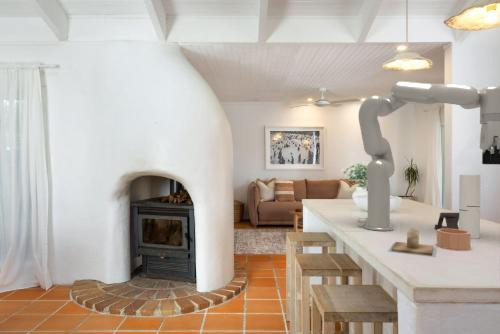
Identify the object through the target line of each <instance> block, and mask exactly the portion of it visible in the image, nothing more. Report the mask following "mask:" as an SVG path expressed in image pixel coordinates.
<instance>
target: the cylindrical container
mask: <svg viewBox="0 0 500 334" xmlns="http://www.w3.org/2000/svg"><path fill="white" fill-rule="evenodd" d="M458 184H459V188H458V189H459V191H458V192H459V194H458V195H459V197H458V199H459V201H458V202H459V203H458V206H459V208H458V211H459V212H458V213H459V221H458V228H459V230H465V231H468V232H470V239H480V238H481V235H480V234H481V175H480V174H459V183H458Z"/></svg>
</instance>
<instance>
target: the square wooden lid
mask: <svg viewBox="0 0 500 334" xmlns="http://www.w3.org/2000/svg"><path fill="white" fill-rule="evenodd" d="M419 231H420V230H419V229H418V228H407V229H406V242H404V241H403V242H402V241H395V242H394V243H395V244H394V246H393V247H392V249H391V251H394V252H393V253H395V252H403V253H402V254H404V253H411V254H410V255H412V254H420V255H419V256H421V255H429V256H432V253H433V247H434V245H431V244H430V245H429V244H421V243H419V242H420V238H419V237H420V232H419ZM429 256H428V257H429Z"/></svg>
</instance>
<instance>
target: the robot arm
mask: <svg viewBox="0 0 500 334" xmlns="http://www.w3.org/2000/svg"><path fill="white" fill-rule="evenodd" d="M408 103H416V104H422V105H423V104H424V105H432V104H433V105H434V104H448V105H457V106H460V107H461V108H463V109H464V110H474V109H478V108H479V124H480V125H481V127H480V137H479V149H480V150H482V152H481V157H482V158H481V163H482V165H500V86H497V85H496V86H488V87H484V88H481V90H477V89H476V88H475V87H473V86H470V85H464V84H463V85H462V84H451V83H428V82H416V81H410V80H409V81H408V80H399V81H396V82H394V83H393V84H392V86H391V88H390V93H388V94H386V95H385V96H384V97H383V96H381V95H378V94H377V95H371V96H369V97H367V98H366V99H365V100H364V101H363V102H362V103H361V105H360V107H359V110H358V123H359V127H360V128H359V129H360V132H361V138H362V139H361V140H362V143H363V149H364V152H365V153H366V154H367V155H368V156H369V157H370V158H371V160H370V161H369V163H368V164H367V166H366V170H365V171H366V173H365V174H366V181H367V183H366V185H367V217H365V218H361V217H359V218H358V219H357V223H361V224H364V225H363V228H364V229H365V230H369V231H377V232H380V231H381V232H386V231H387V232H388V231H393V230H394V226H392V224H390V221H391V218H390V217H391V184H390V183H391V182H390V178H391V177H392V176H393V175H394V173H395V169H396V167H395V162H394V156H393V153H392V148H391V144H390V143H389V141H388V139H386V138H385V137H383V135H382V130H381V125H380V122H379V119H378V117H386V116H389V115H391V114H393V113H394V112H395V111H397V110H399V109H401V108H403V107H404V106H405V105H407V104H408Z"/></svg>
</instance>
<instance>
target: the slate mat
mask: <svg viewBox="0 0 500 334" xmlns="http://www.w3.org/2000/svg"><path fill="white" fill-rule="evenodd" d="M394 244H395V242H393V243H392V245H391V246H390V247H389V248H388V250H387V252H389V253H397V254H405V255H414V256H421V257H431V258H436V257H437V249H438V248H437V247H434V246H433V253H432V256H429V255H420V254H411V253H403V252H394V251H391V249H392V247H393V246H394Z"/></svg>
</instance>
